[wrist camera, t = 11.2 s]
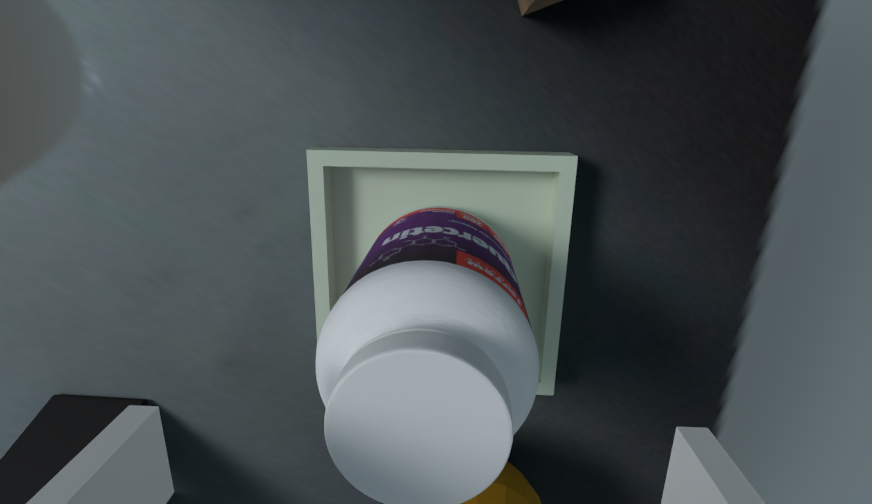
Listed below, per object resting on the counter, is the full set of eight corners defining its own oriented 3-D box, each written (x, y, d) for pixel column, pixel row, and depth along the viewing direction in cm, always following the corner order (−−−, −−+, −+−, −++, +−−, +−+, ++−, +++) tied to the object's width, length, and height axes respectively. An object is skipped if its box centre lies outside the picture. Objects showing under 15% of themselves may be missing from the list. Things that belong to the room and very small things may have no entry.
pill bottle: (528, 221, 27) (603, 346, 13) (488, 349, 29) (516, 569, 15) (384, 185, 26) (305, 273, 13) (356, 317, 29) (263, 510, 15)
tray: (317, 146, 27) (306, 149, 25) (568, 152, 26) (577, 156, 24) (328, 367, 31) (319, 385, 29) (547, 375, 30) (553, 395, 28)
